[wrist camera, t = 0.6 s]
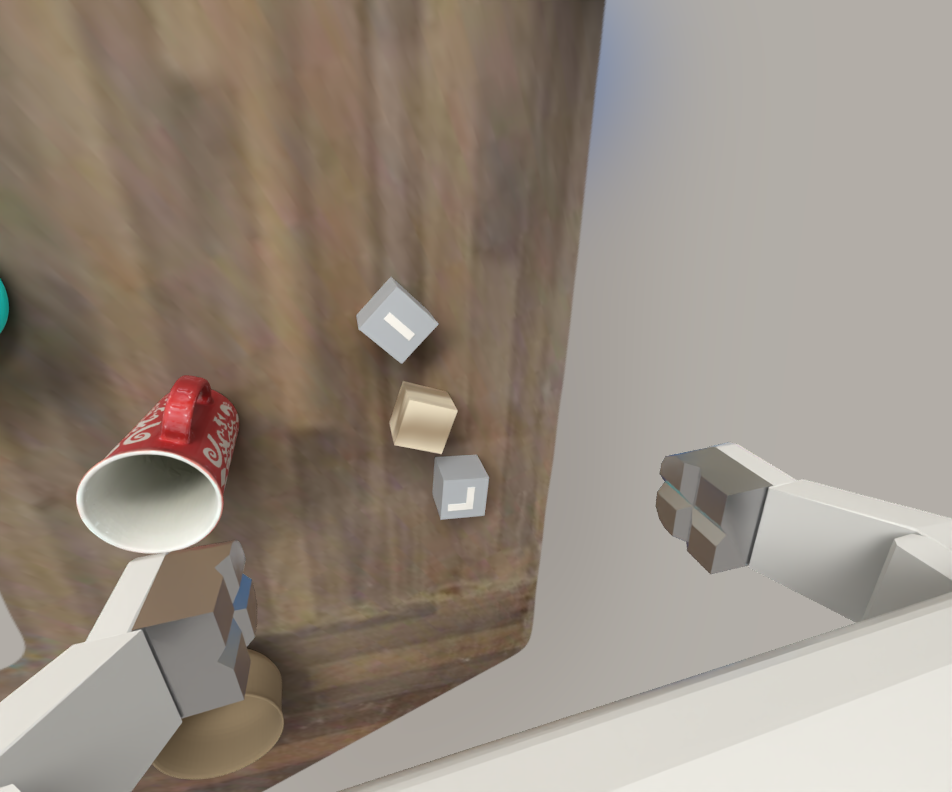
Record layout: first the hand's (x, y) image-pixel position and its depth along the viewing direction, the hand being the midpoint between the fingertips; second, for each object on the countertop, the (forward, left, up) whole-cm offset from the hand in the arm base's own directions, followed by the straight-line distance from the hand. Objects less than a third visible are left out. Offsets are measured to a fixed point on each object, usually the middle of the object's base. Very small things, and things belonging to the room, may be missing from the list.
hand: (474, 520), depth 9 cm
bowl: (+51, +7, -40) cm, 65 cm away
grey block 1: (+4, +5, -40) cm, 40 cm away
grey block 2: (+18, +20, -40) cm, 48 cm away
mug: (+20, -7, -40) cm, 45 cm away
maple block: (+12, +12, -40) cm, 43 cm away
